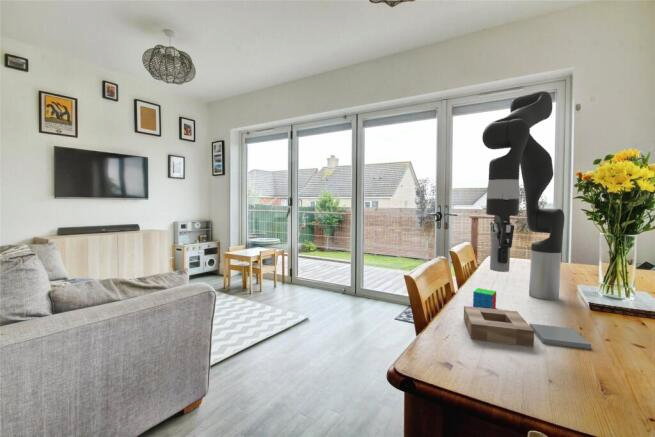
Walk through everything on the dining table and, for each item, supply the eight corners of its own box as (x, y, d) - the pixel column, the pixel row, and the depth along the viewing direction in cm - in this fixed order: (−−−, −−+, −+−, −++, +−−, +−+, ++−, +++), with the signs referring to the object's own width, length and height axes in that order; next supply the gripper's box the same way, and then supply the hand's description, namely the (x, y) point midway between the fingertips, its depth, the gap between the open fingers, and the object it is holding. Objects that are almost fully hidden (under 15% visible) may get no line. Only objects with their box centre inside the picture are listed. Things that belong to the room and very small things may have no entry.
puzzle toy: (491, 312, 98) (492, 294, 98) (472, 308, 102) (473, 291, 102) (495, 308, 103) (496, 291, 102) (477, 304, 106) (477, 287, 106)
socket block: (463, 319, 92) (464, 306, 92) (516, 325, 88) (516, 311, 88) (470, 338, 79) (471, 323, 79) (533, 346, 75) (534, 330, 75)
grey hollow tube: (512, 272, 80) (513, 233, 79) (493, 271, 80) (494, 232, 80) (505, 268, 84) (507, 231, 83) (487, 268, 85) (489, 231, 84)
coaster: (529, 327, 86) (529, 323, 86) (571, 332, 83) (571, 328, 83) (543, 343, 77) (543, 338, 77) (591, 349, 74) (591, 344, 74)
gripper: (481, 197, 89) (479, 256, 90) (493, 196, 75) (490, 265, 76) (510, 198, 87) (507, 257, 88) (528, 197, 73) (524, 267, 74)
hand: (499, 260), depth 82 cm, fingers closed on grey hollow tube, 4 cm apart
